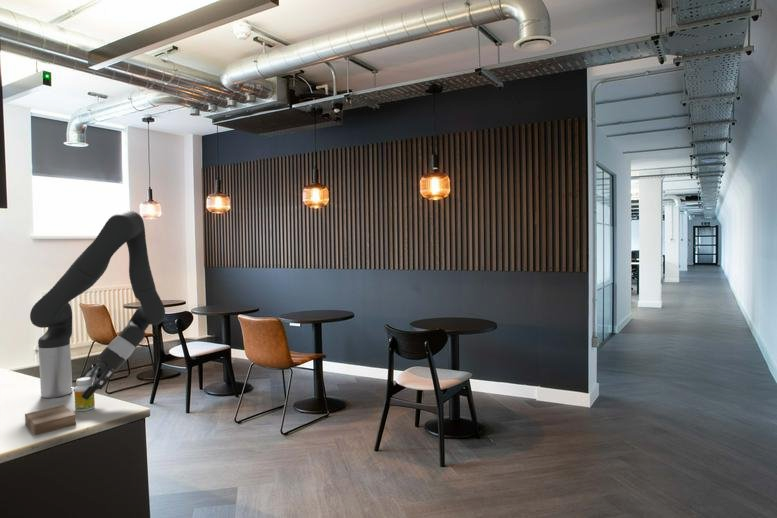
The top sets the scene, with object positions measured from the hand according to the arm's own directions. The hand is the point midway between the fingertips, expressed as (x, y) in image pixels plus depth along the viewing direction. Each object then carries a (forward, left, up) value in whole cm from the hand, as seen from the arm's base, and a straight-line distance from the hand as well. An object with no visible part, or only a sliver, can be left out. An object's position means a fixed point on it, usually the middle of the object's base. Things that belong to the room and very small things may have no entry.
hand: (79, 395), depth 161 cm
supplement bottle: (0, +1, -5) cm, 5 cm away
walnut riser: (+7, -10, -5) cm, 13 cm away
